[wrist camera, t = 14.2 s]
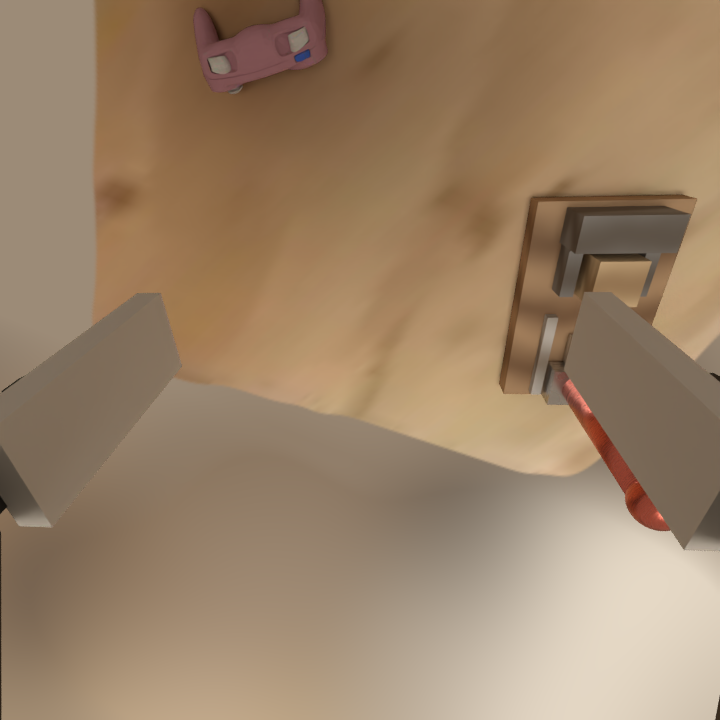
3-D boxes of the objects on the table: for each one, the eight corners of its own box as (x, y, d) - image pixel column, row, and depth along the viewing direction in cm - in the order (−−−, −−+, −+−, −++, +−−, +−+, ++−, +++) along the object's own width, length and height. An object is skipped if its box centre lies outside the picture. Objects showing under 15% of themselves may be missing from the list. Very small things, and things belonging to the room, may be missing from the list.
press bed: (531, 197, 37) (552, 210, 32) (682, 194, 37) (727, 206, 32) (499, 383, 47) (512, 414, 43) (617, 384, 47) (644, 415, 42)
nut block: (581, 248, 37) (600, 261, 34) (627, 247, 37) (651, 261, 34) (570, 290, 39) (588, 307, 36) (614, 290, 39) (636, 307, 36)
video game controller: (221, 72, 35) (209, 114, 31) (190, 6, 31) (173, 44, 28) (333, 36, 34) (336, 76, 30) (315, -38, 30) (315, -4, 26)
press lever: (554, 334, 42) (658, 468, 26) (608, 334, 41) (746, 470, 26) (540, 393, 45) (623, 542, 29) (590, 393, 45) (700, 544, 29)
